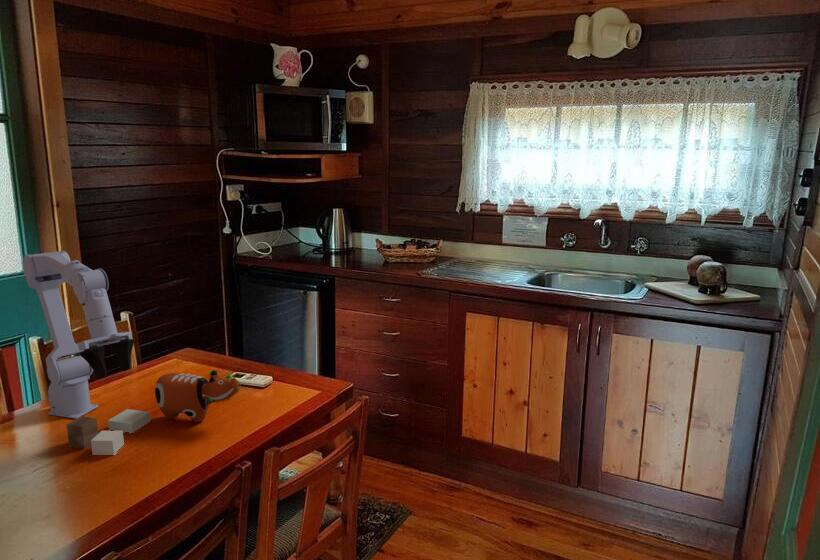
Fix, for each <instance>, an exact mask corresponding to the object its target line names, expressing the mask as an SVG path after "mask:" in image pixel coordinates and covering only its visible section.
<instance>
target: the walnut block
mask: <svg viewBox="0 0 820 560" xmlns="http://www.w3.org/2000/svg"><path fill="white" fill-rule="evenodd" d="M65 425H66V431H67V439H68V446H69V448H72V447H76V448H75V449H78V448H82V449H81V450H84V449H85V450H87V449H88V448H90V447H92V445H91V440H92V439H93V438H94V437H95V436H97V435H98V434H99V429H98V428H99V427H98V420H97V418H96V417H91V416H84V415H82V416H80V417H79V418H76V419H75V418H74V419H73V420H72V421H69V422H68V423H66V424H65ZM70 446H71V447H70ZM89 446H90V447H89ZM86 448H87V449H86Z"/></svg>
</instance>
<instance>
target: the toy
mask: <svg viewBox="0 0 820 560" xmlns="http://www.w3.org/2000/svg"><path fill="white" fill-rule="evenodd" d="M211 371H212V372H211V375H210V374H209V380H208V379H207V378H206V377H205V376H204V377H205V378H206V379H205V378H204V377H201V376H202V375H199V374H198V375H196V374H192V373H181V372H171V373H165V374H162V375H161V376H160V377H158V379H157V380H156V382H155V386H154V392H155V393H154V394H155V400H156V404H157V406H158V408H159V410H160V412H161V413H162V415H164V416H165V417H166V418H167V419H176V418H178V416H179V415H180V414H183V415H186V416H187V417H188V418H189V419H191V421H192V422H195V423H200V422H203V421H204V420H205V419H206V416H207V413H208V409H209V403H210V401H209V398H211V399H213V401H217V402H222V401H226V400H228V398H229V399H231V398H232V397H233V396H235V394H236V393H238V392H239V391H238V389H239V388H240V384H239V383H238V381H239V380H238V379H237V378H236V377H235V378H233V377H232V378H225V377H223V376H221V375H220V374H219V373H218V371H217V370H214V369H212V370H211ZM216 371H217V372H216ZM237 380H238V381H237ZM237 391H238V392H237Z"/></svg>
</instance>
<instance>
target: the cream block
mask: <svg viewBox="0 0 820 560" xmlns="http://www.w3.org/2000/svg"><path fill="white" fill-rule="evenodd" d="M123 445H124V446H125V441H124V432H123V431H111V430H101V431H100V432H98V435H97V436H95V437H94V438H93V439H92V440H91V453H92V456H93V455H115V456H116V455H117V453H118V452H119V451H120V450H121V449H122V448H123V447H124V446H123ZM122 446H123V447H122ZM121 447H122V448H121ZM120 448H121V449H120ZM119 449H120V450H119ZM118 450H119V451H118ZM117 451H118V452H117Z"/></svg>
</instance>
